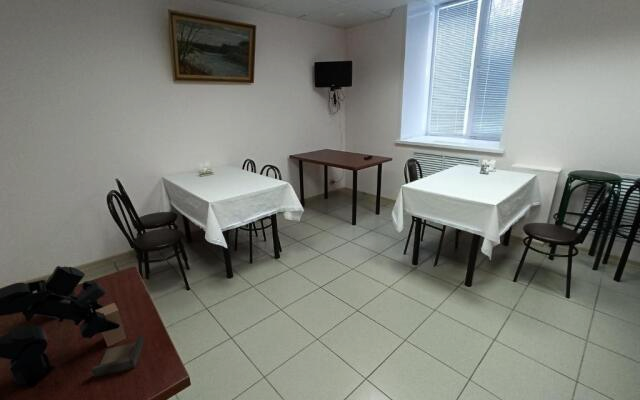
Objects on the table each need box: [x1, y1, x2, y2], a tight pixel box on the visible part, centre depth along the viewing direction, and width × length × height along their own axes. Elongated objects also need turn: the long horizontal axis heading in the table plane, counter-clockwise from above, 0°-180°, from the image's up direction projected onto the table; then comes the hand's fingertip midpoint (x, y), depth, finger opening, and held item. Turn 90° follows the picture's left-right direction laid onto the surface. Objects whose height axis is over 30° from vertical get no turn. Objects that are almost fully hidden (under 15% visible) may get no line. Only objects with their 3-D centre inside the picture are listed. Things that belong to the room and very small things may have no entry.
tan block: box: [96, 302, 127, 348], centre depth 93 cm, size 5×5×11 cm
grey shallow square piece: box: [91, 334, 144, 378], centre depth 87 cm, size 10×10×3 cm
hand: (115, 319), depth 94 cm, fingers open, 9 cm apart
